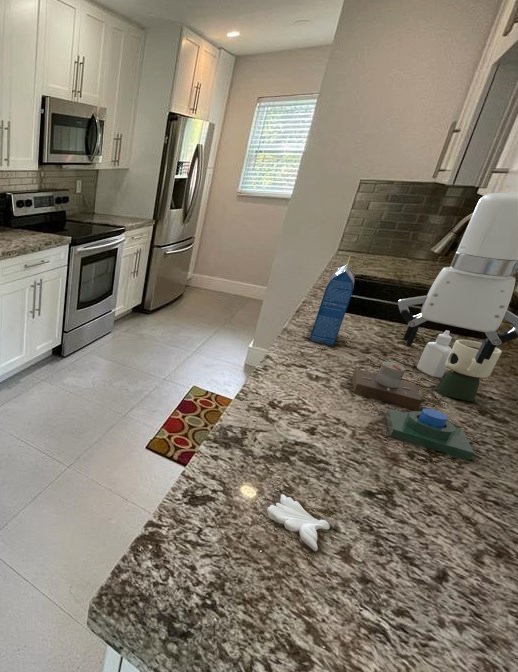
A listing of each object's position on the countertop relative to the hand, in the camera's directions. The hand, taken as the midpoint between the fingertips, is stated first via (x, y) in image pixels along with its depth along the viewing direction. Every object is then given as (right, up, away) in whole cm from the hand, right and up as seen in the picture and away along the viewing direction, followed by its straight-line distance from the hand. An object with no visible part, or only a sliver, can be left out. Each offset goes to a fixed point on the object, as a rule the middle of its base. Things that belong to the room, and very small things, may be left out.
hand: (441, 352), depth 79 cm
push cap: (-2, -14, 0) cm, 14 cm away
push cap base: (-2, -17, +1) cm, 17 cm away
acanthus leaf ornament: (-41, -24, -19) cm, 51 cm away
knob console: (+3, -11, +16) cm, 20 cm away
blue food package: (+12, 0, +46) cm, 48 cm away
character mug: (+20, -12, +17) cm, 29 cm away
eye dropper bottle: (+25, -8, +27) cm, 38 cm away
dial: (+3, -8, +15) cm, 18 cm away
